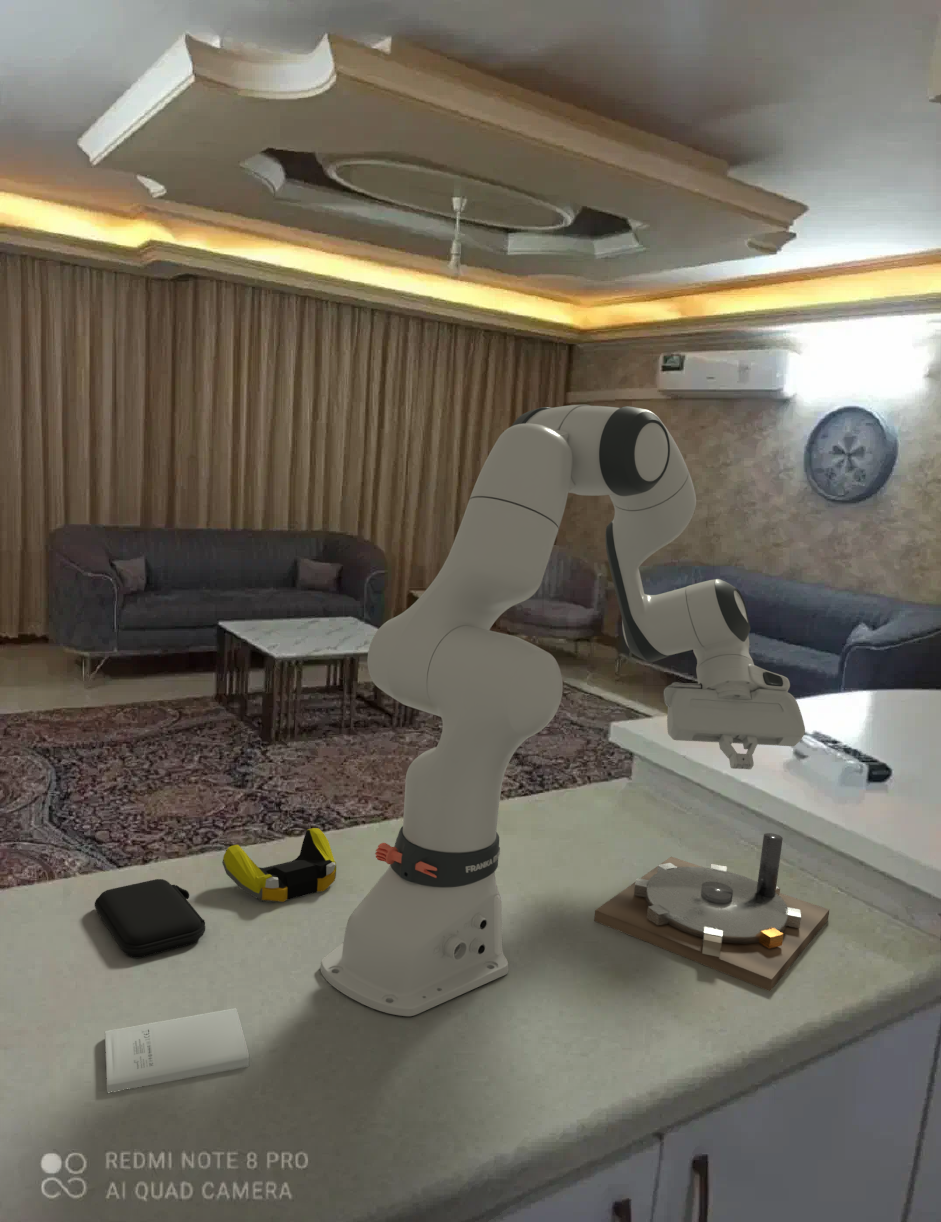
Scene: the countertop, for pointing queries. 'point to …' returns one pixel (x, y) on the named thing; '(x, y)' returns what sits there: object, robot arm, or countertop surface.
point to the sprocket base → (731, 953)
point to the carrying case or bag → (149, 917)
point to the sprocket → (722, 900)
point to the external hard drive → (174, 1050)
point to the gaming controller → (285, 871)
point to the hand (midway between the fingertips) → (742, 767)
